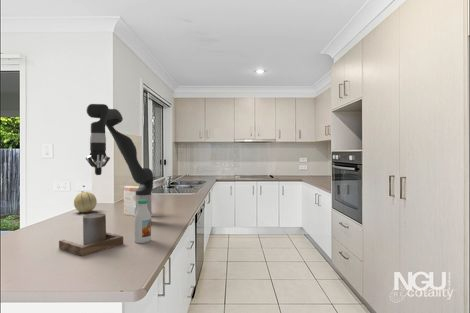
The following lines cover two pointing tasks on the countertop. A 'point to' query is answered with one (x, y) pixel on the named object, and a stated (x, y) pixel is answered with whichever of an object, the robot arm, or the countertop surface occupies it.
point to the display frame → (91, 245)
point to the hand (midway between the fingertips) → (98, 174)
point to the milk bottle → (142, 223)
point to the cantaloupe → (85, 202)
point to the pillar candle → (94, 228)
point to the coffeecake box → (130, 200)
